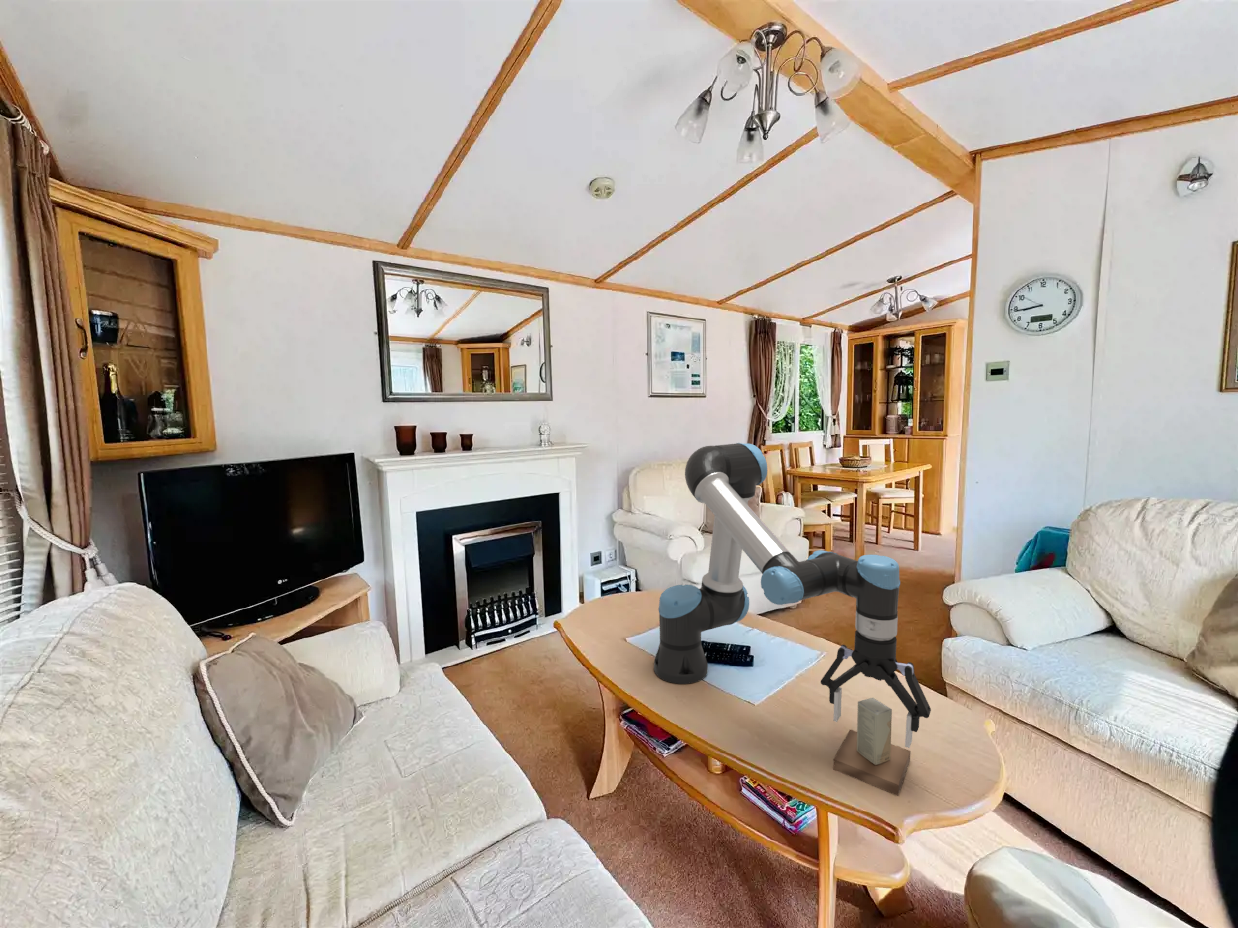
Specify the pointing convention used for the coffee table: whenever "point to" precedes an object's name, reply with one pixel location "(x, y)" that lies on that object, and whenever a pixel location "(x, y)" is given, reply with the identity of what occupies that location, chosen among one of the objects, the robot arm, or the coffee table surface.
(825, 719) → the coffee table surface
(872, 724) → the box
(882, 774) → the walnut block
